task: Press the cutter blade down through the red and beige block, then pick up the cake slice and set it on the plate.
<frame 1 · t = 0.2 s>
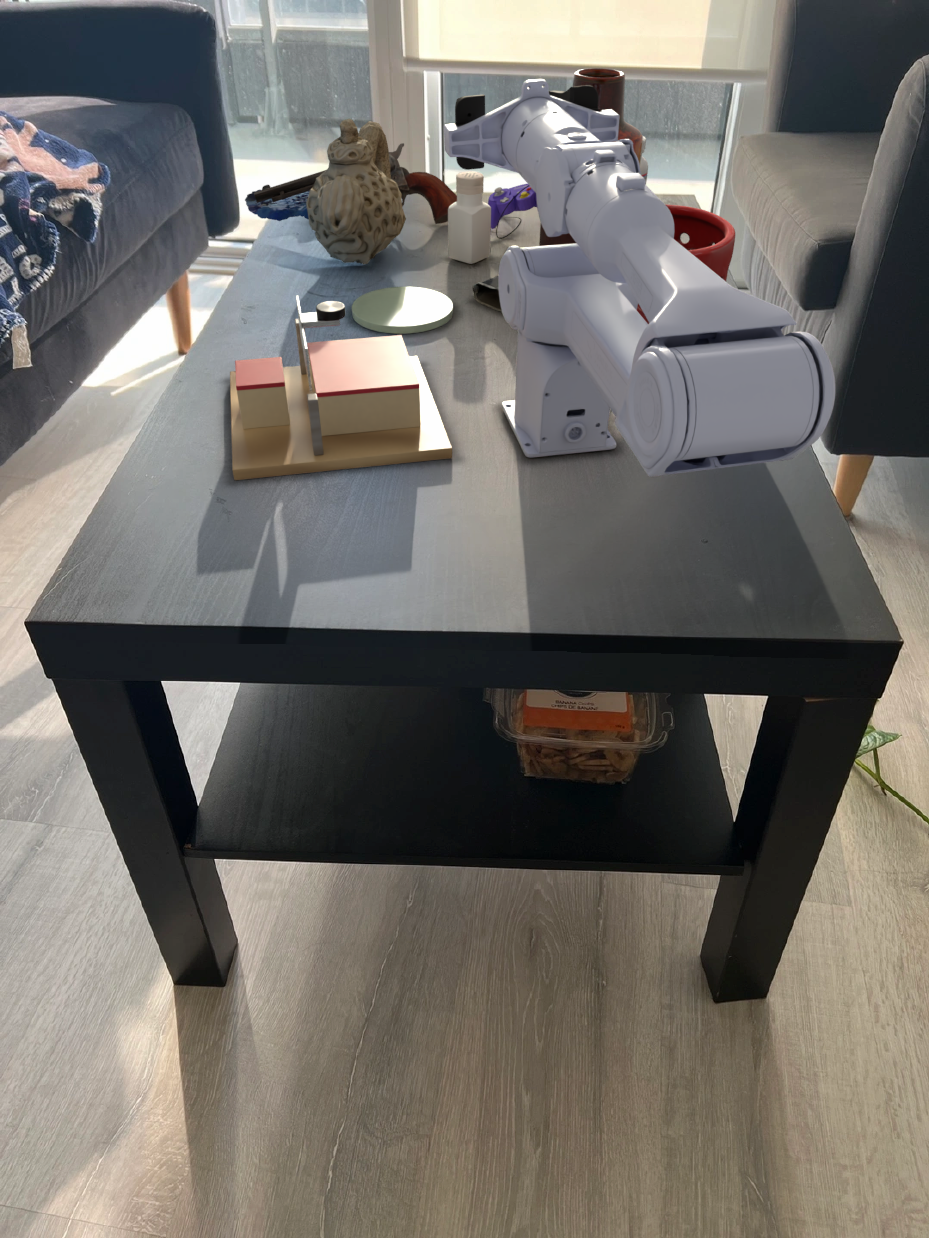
hand: (506, 107, 83), 21 cm above the table, tool horizontal, fingers open, 7 cm apart
vase: (582, 267, 112), on the table
revolver: (376, 243, 122), on the table, touching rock
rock: (326, 158, 125), point 6 cm above the table, touching revolver
pepper shaker: (469, 259, 114), on the table
cake slice: (265, 413, 82), point 1 cm above the table, touching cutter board
camera: (516, 309, 102), on the table
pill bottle: (616, 233, 122), on the table
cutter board: (334, 417, 83), on the table
plate: (402, 312, 101), on the table
game controller: (519, 230, 122), on the table
cutter blade: (324, 334, 78), point 8 cm above the table, slide at 0.0 cm
teapot: (360, 256, 114), on the table
red and beige block: (364, 404, 83), point 1 cm above the table, touching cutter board
flower pot: (648, 347, 95), on the table
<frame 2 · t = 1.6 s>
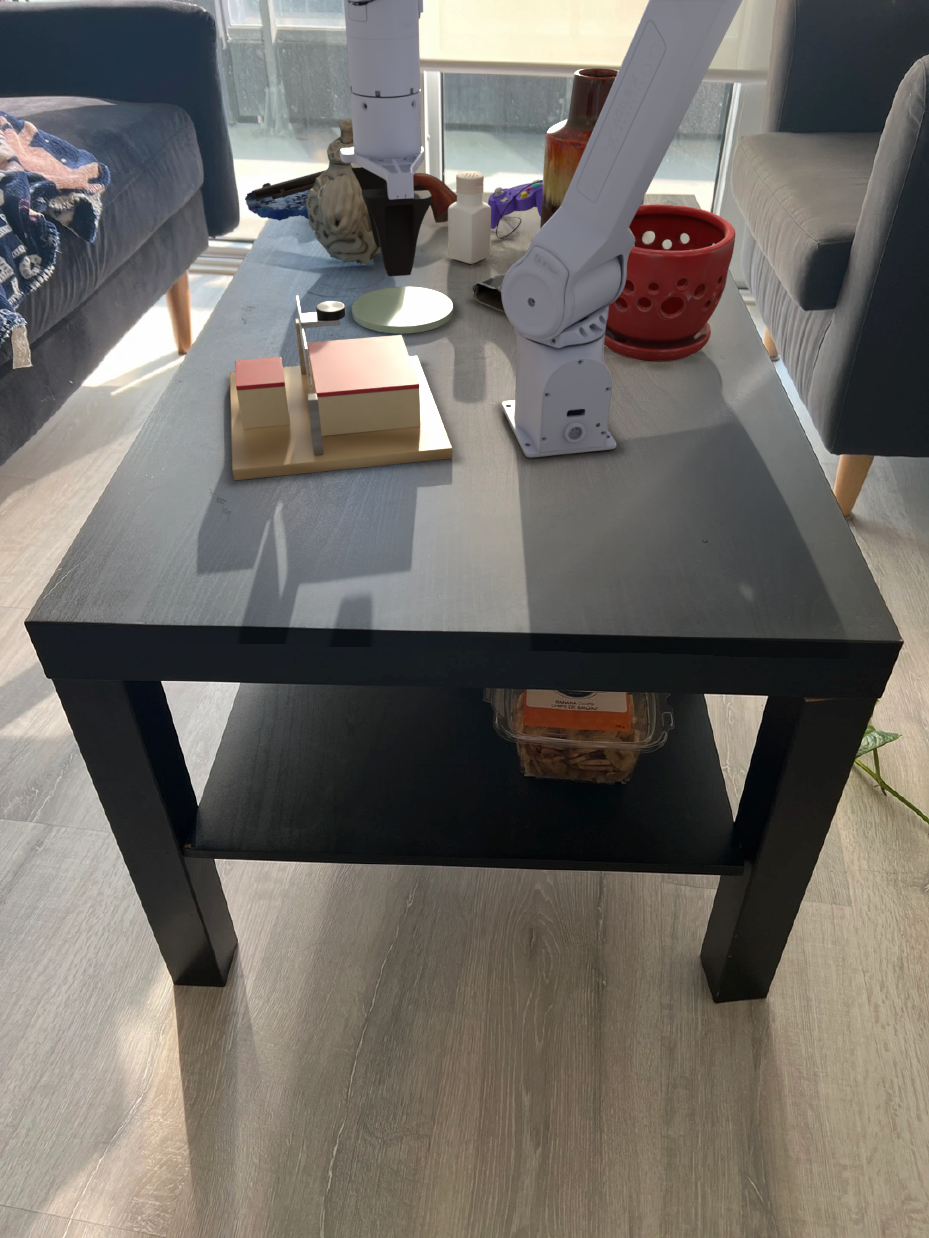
hand: (392, 259, 84), 10 cm above the table, tool pointing down, fingers open, 7 cm apart
nothing on the table moved.
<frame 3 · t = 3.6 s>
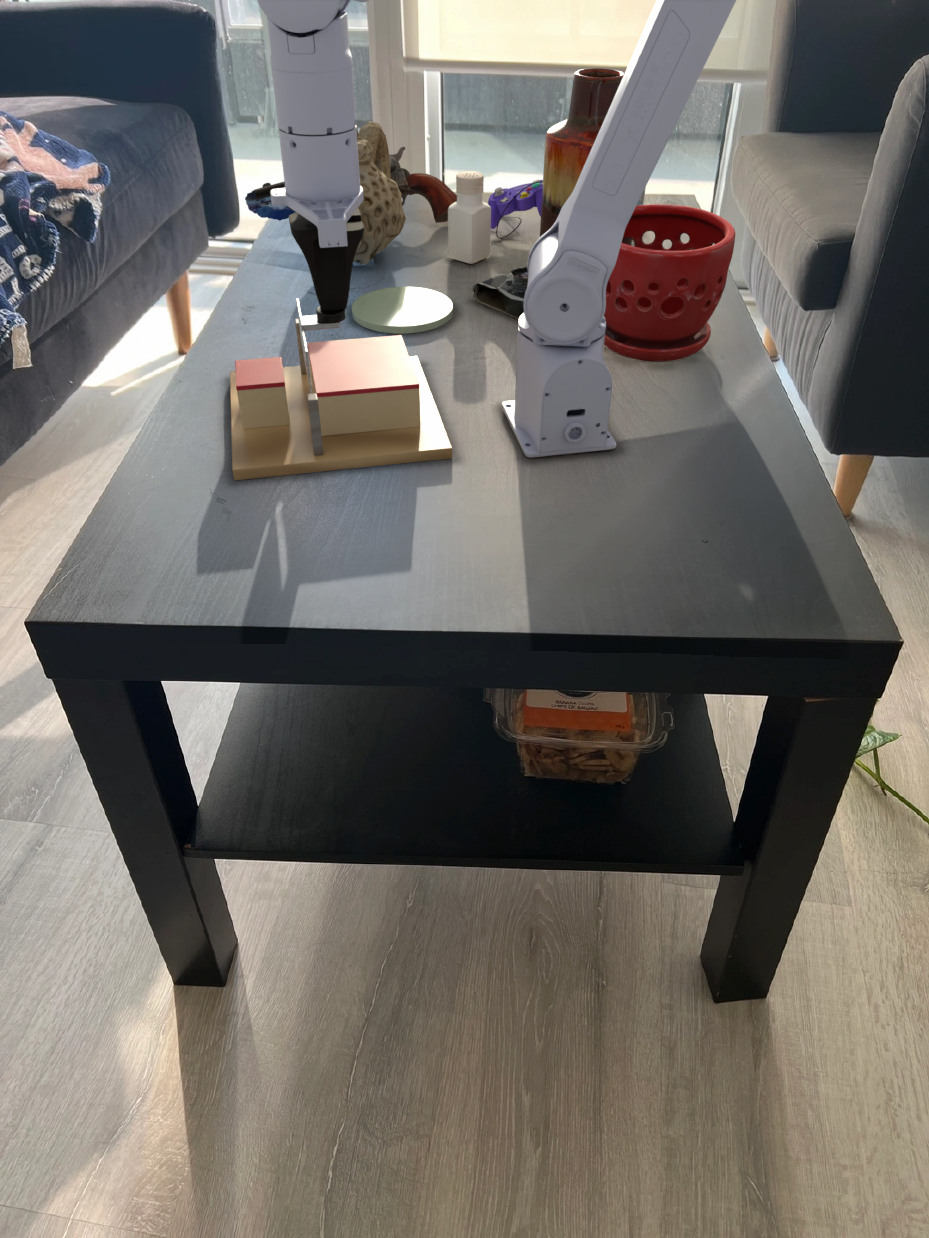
hand: (333, 307, 77), 10 cm above the table, tool pointing down, fingers closed, pressing on cutter blade
cutter blade: (324, 336, 78), point 8 cm above the table, slide at -0.2 cm, touching gripper
everything else where it was.
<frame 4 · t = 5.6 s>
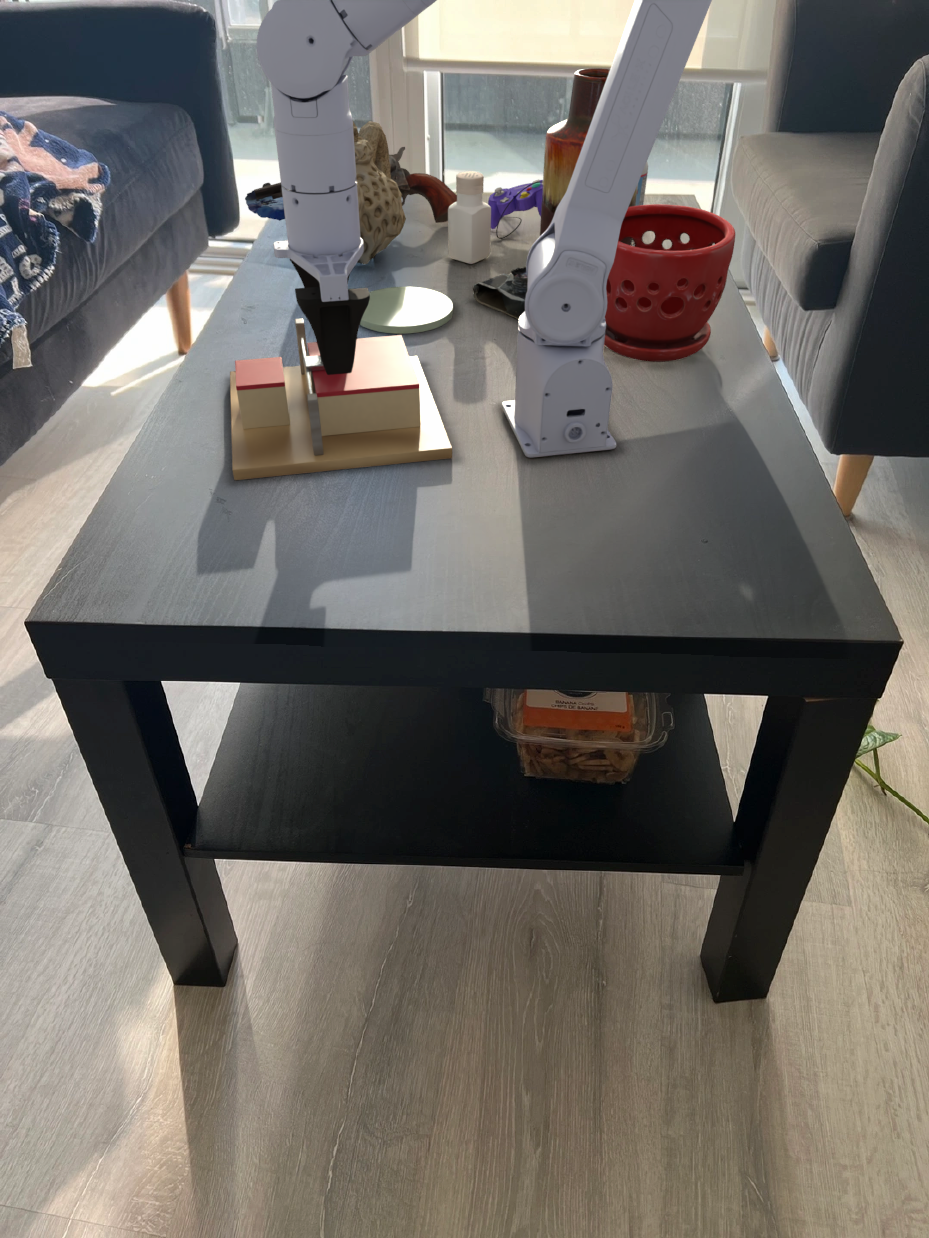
hand: (334, 352, 79), 6 cm above the table, tool pointing down, fingers open, 7 cm apart
cutter blade: (328, 376, 81), point 4 cm above the table, slide at -3.8 cm
everything else where it was.
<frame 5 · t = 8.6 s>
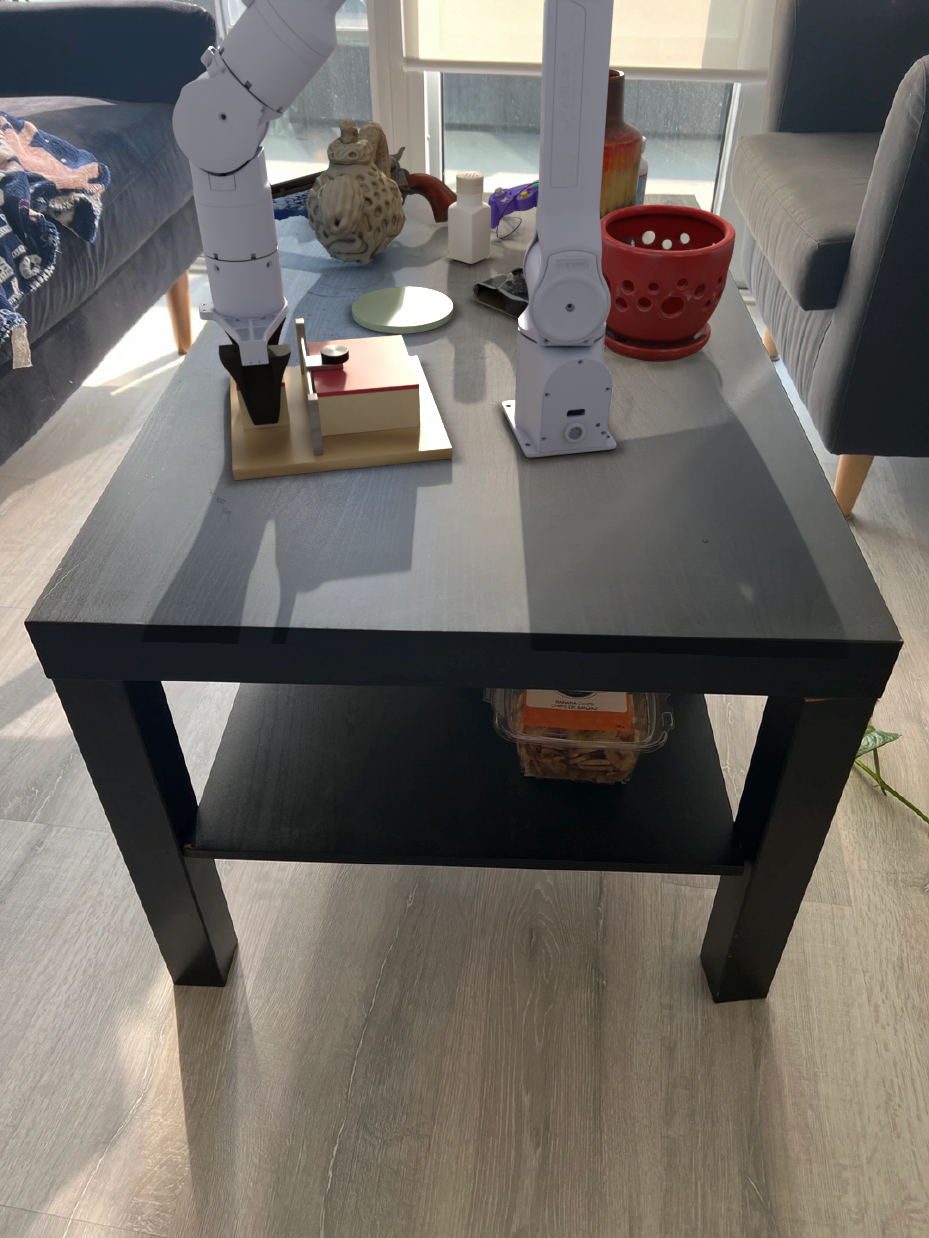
hand: (264, 407, 81), 2 cm above the table, tool pointing down, fingers closed on cake slice, 5 cm apart
cake slice: (265, 413, 82), point 1 cm above the table, touching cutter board, gripper
everything else where it was.
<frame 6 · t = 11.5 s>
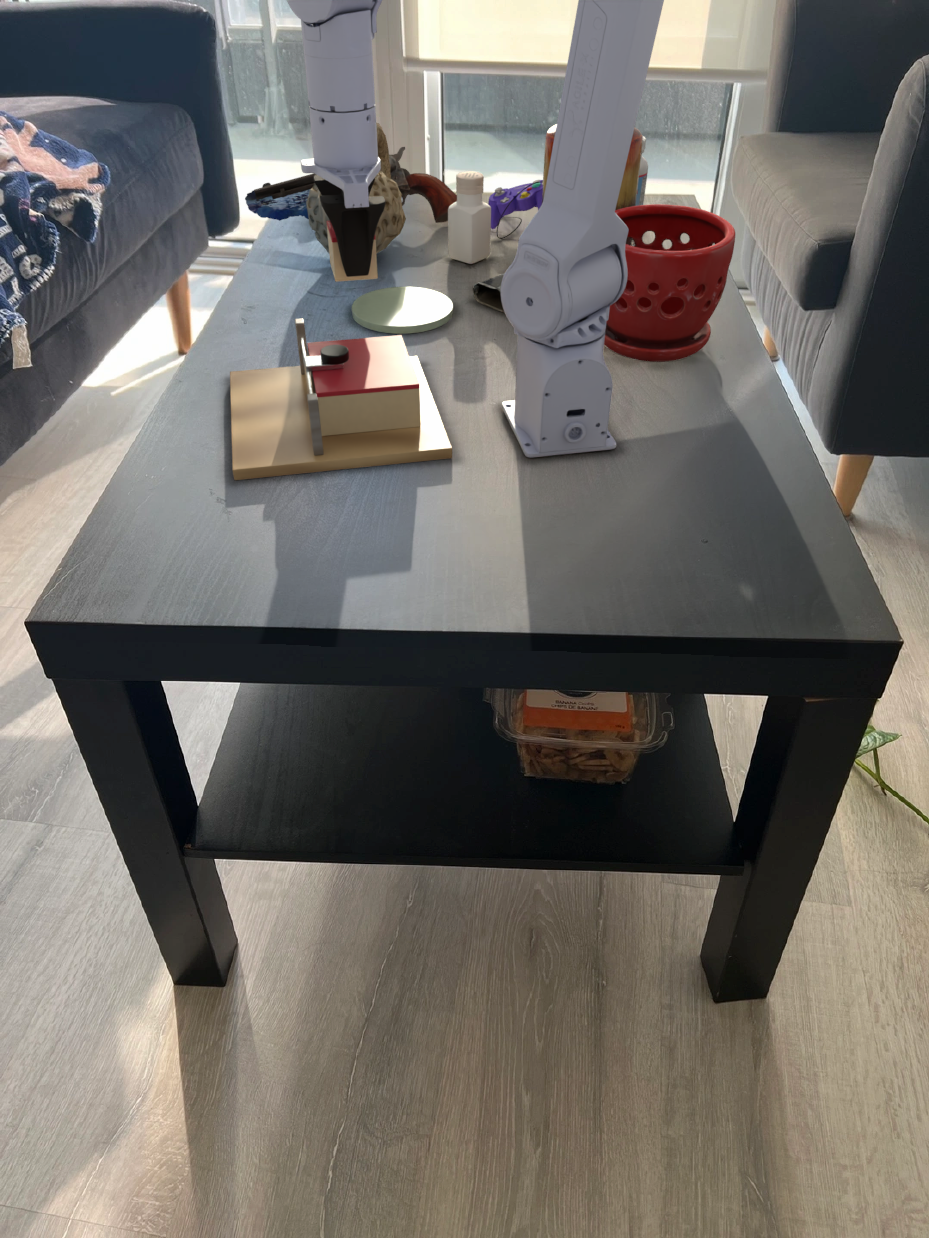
hand: (353, 264, 89), 8 cm above the table, tool pointing down, fingers closed on cake slice, 5 cm apart
cake slice: (353, 271, 89), point 8 cm above the table, touching gripper
everything else where it was.
when the fingers open (1 cm above the table, at t = 14.5 s): cake slice stays where it is, resting on plate.
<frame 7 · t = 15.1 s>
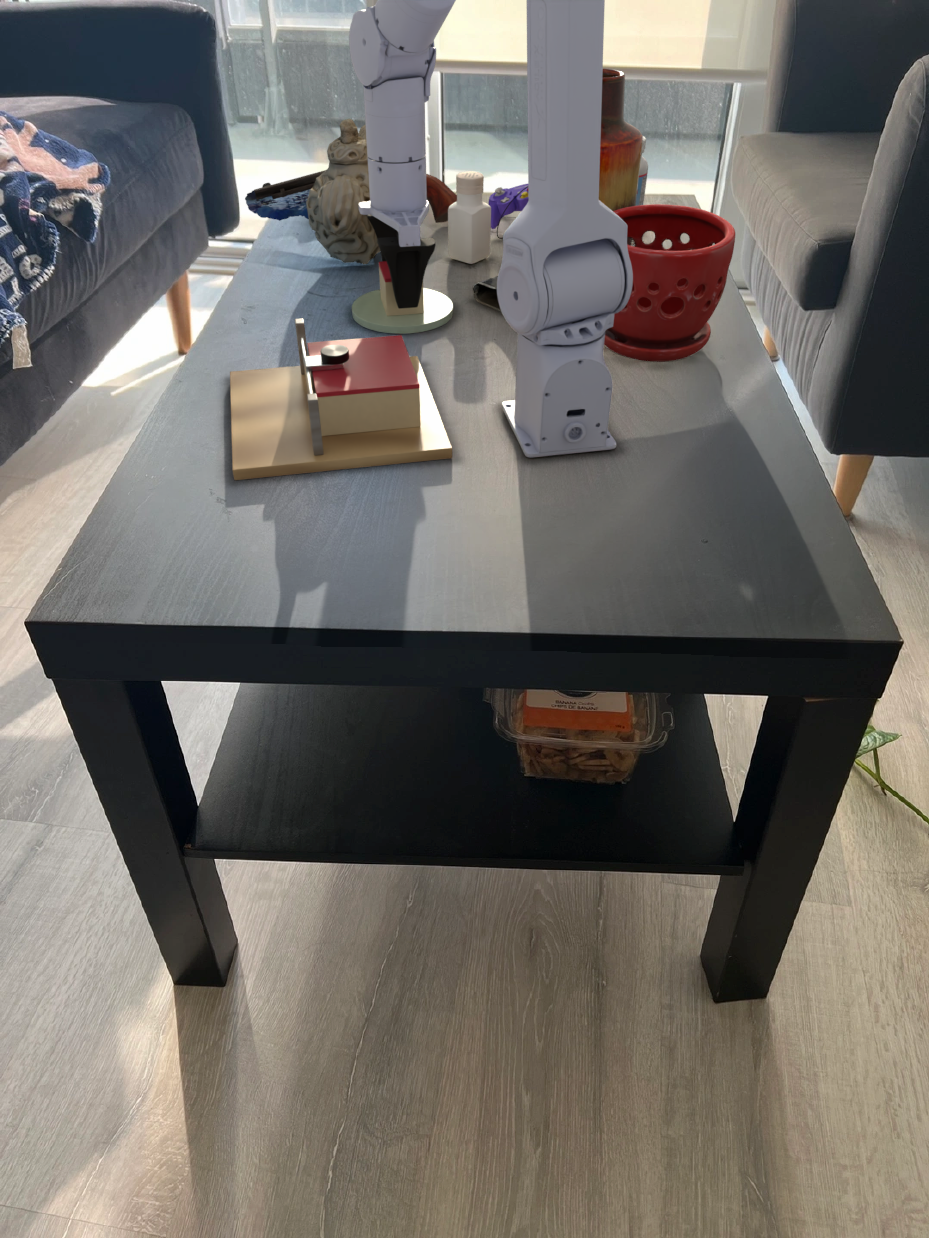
hand: (402, 293, 100), 2 cm above the table, tool pointing down, fingers open, 7 cm apart
cake slice: (402, 305, 101), point 1 cm above the table, touching plate
everything else where it was.
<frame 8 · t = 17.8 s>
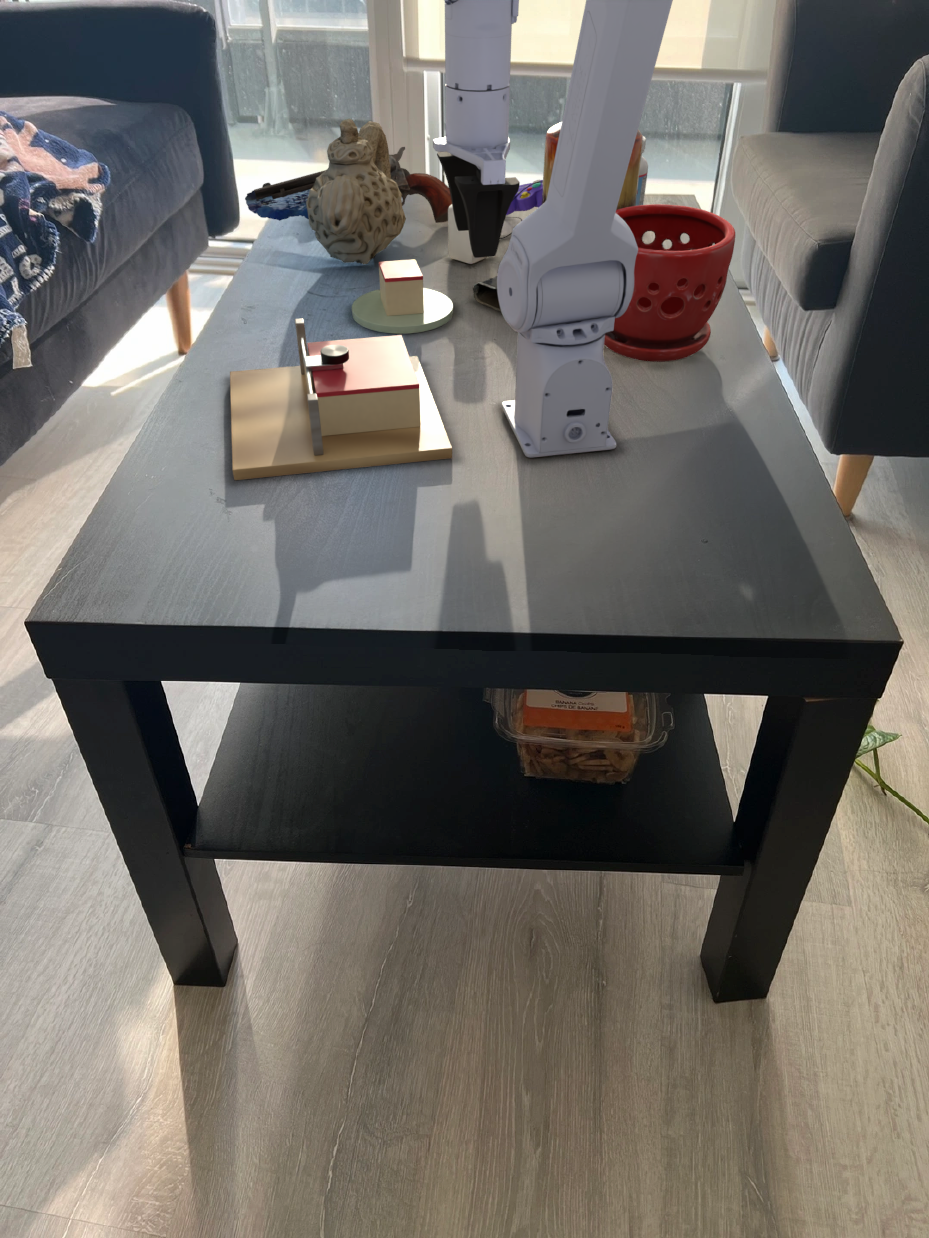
hand: (475, 242, 91), 9 cm above the table, tool pointing down, fingers open, 7 cm apart
nothing on the table moved.
at the end: cutter blade pushed in 3.9 cm at the most during the clip, back to 3.8 cm at the end; cake slice inside the target area on the plate (0.1 cm from its centre), point 0.8 cm above the plate's base; red and beige block moved 0.0 cm from its start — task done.
